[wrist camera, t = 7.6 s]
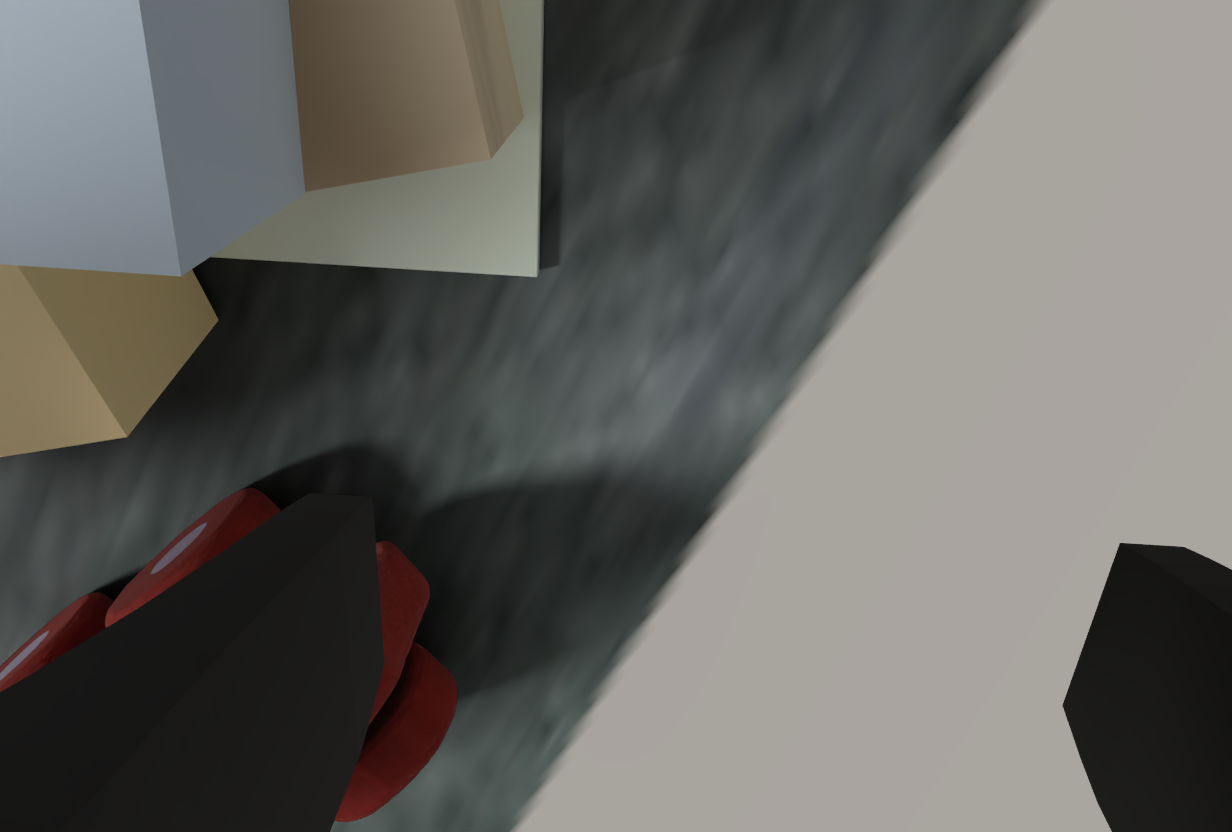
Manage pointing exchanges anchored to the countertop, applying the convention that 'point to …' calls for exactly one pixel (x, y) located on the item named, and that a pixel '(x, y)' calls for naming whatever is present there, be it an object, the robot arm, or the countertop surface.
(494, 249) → the plate
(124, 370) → the ochre block
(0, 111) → the blue block
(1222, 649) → the robot arm
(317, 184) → the maple block
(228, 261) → the countertop surface
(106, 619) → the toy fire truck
